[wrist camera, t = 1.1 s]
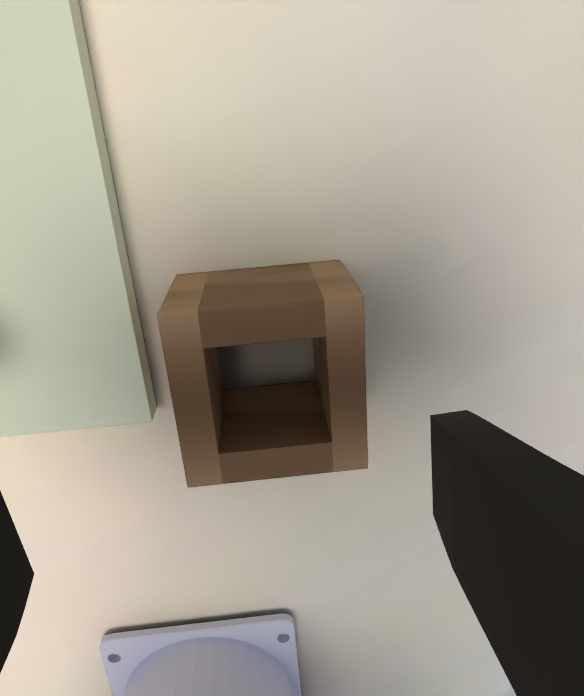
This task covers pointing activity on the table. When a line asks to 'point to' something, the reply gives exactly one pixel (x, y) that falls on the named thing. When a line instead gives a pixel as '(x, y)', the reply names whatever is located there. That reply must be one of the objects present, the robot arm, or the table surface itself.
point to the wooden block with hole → (275, 400)
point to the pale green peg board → (61, 239)
